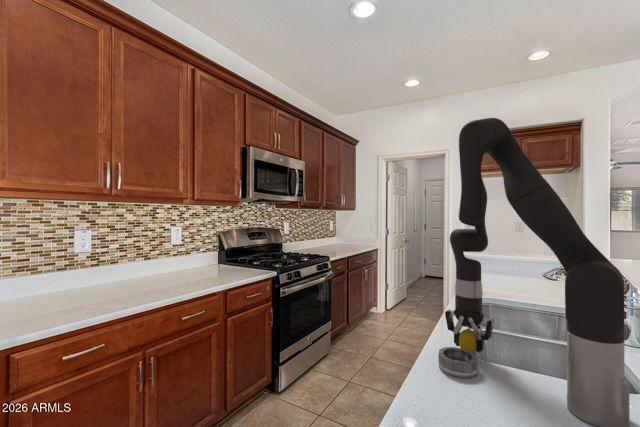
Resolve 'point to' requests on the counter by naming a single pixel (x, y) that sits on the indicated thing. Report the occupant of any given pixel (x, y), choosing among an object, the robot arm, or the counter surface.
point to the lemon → (468, 340)
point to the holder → (458, 362)
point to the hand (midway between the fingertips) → (468, 348)
